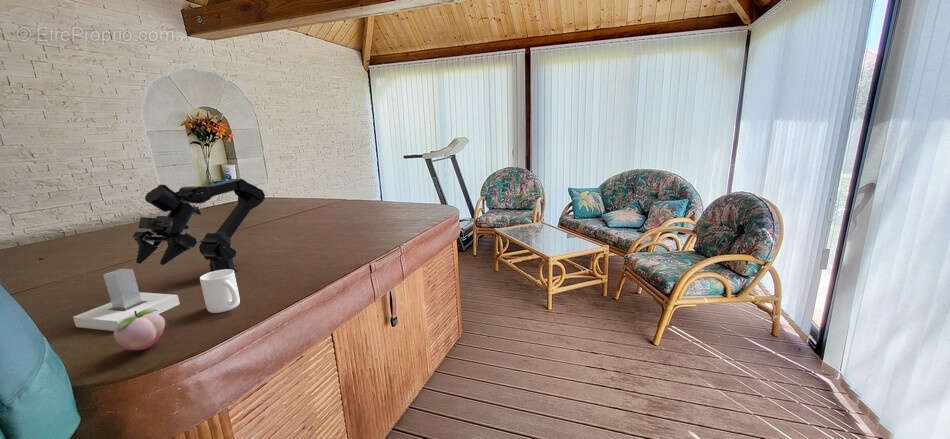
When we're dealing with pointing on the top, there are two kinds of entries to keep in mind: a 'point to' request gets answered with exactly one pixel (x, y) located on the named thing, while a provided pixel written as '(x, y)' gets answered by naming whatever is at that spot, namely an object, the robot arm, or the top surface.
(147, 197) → the robot arm
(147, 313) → the decorative fruit
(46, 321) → the top surface
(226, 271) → the mug
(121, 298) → the grey square peg
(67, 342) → the top surface
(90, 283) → the top surface
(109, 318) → the socket plate
